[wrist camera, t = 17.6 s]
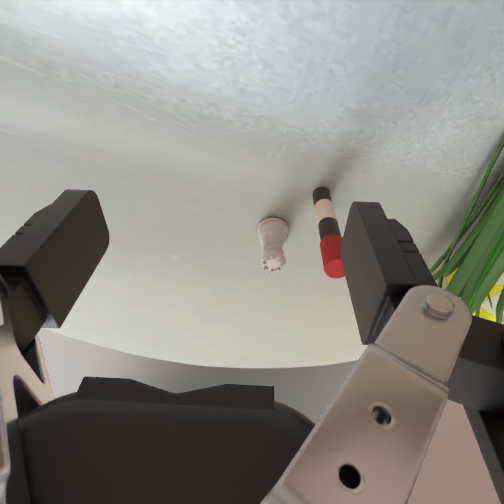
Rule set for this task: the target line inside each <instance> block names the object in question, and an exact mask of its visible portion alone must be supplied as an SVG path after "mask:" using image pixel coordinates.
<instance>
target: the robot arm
mask: <svg viewBox="0 0 504 504" xmlns="http://www.w3.org/2000/svg"><path fill="white" fill-rule="evenodd" d="M413 242H414V241H413V239H412V237H411V235H410V233H409V232H408V230H407V229H406V228H405V227H404V226H403V225H401V224H400V223H399V222H398V221H397V220H395V219H387V217H386V215H385V213H384V211H383V209H382V207H381V205H380V203H378V202H355V201H354V202H353V203H352V205H351V208H350V211H349V215H348V220H347V224H346V228H345V232H344V236H343V240H342V246H341V259H342V264H343V268H344V272H345V276H346V280H347V284H348V288H349V292H350V296H351V300H352V304H353V308H354V312H355V316H356V320H357V325H358V329H359V333H360V337H361V341H362V344H363V345H368V347H367V348H366V350H365V351H364V353H363V354H362V356H361V357H360V359H359V360H358V362H357V363H356V365H355V366H354V368H353V369H352V371H351V372H350V374H349V375H348V377H347V378H346V380H345V381H344V383H343V384H342V386H341V387H340V389H339V390H338V392H337V393H336V395H335V396H334V398H333V399H332V401H331V402H330V404H329V405H328V407H327V408H326V410H325V411H324V413H323V414H322V416H321V417H320V419H319V420H318V422H317V423H316V424H315V423H313V422H312V421H311V420H310V419H308V418H307V417H306V416H305V415H303V414H301V413H300V412H298V411H297V410H295V409H293V408H291V407H289V406H287V405H285V404H283V403H280V402H276V401H274V387H273V386H272V387H271V386H255V385H236V384H225V385H220V386H214V387H210V388H204V389H199V390H194V391H189V392H184V393H171V392H168V391H165V390H162V389H159V388H156V387H153V386H150V385H146V384H143V383H141V382H138V381H135V380H132V379H121V378H102V377H84V378H83V380H82V382H81V384H80V386H79V389H78V391H77V392H75V393H71V394H68V395H65V396H61V397H59V398H56V399H55V397H54V394H53V391H52V388H51V384H50V380H49V375H48V371H47V367H46V363H45V359H44V355H43V351H42V347H41V343H40V340H39V338H38V337H37V335H36V334H37V333H38V331H39V330H40V328H41V327H42V328H60V327H61V325H62V324H63V322H64V320H65V319H66V317H67V315H68V314H69V312H70V310H71V309H72V307H73V305H74V304H75V302H76V300H77V299H78V297H79V295H80V294H81V292H82V290H83V289H84V287H85V285H86V284H87V282H88V280H89V279H90V277H91V275H92V274H93V272H94V270H95V269H96V267H97V265H98V264H99V262H100V260H101V259H102V257H103V255H104V254H105V252H106V250H107V248H108V245H109V231H108V228H107V225H106V221H105V218H104V215H103V212H102V209H101V206H100V202H99V199H98V197H97V195H96V193H95V192H94V191H92V190H70V189H68V190H65V191H64V192H63V193H62V194H61V195H60V196H59V197H58V198H57V199H56V200H55V201H54V202H53V203H52V205H51V204H50V205H49V206H47V207H45V208H43V209H41V210H40V211H38V212H36V213H34V214H33V216H32V217H31V218H30V219H29V220H28V221H27V222H26V223H25V224H24V226H22V227H21V228H20V229H19V230H18V231H17V232H16V235H13V236H12V237H11V238H10V239H9V240H8V241H7V242H6V243H5V244H4V245H3V246H2V247H1V248H0V504H407V502H408V500H409V497H410V494H411V492H412V489H413V486H414V484H415V481H416V479H417V476H418V474H419V471H420V468H421V466H422V463H423V461H424V458H425V456H426V453H427V451H428V448H429V445H430V442H431V440H432V437H433V435H434V432H435V430H436V427H437V425H438V422H439V419H440V417H441V414H442V412H443V409H444V406H445V404H446V401H447V399H448V400H452V401H454V402H457V403H460V404H463V406H464V409H465V411H466V414H467V416H468V419H469V422H470V424H471V427H472V429H473V432H474V435H475V437H476V440H477V443H478V445H479V448H480V450H481V453H482V456H483V458H484V461H485V463H486V466H487V468H488V471H489V473H490V476H491V479H492V482H493V484H494V487H495V489H496V492H497V495H498V497H499V500H500V502H501V504H504V324H501V323H498V322H494V321H491V320H487V319H484V318H480V317H477V316H474V315H471V312H470V310H469V308H468V306H467V305H466V304H465V303H464V302H463V301H462V300H461V299H460V298H459V297H457V296H456V295H454V294H453V293H451V292H449V291H447V290H445V289H442V288H439V287H438V286H437V284H436V282H435V280H434V278H433V277H432V275H431V273H430V271H429V269H428V267H427V265H426V263H425V262H424V260H423V258H422V256H421V254H420V253H419V250H418V248H417V247H416V245H415V244H414V243H413Z"/></svg>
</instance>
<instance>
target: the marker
mask: <svg viewBox="0 0 504 504" xmlns="http://www.w3.org/2000/svg"><path fill="white" fill-rule="evenodd" d="M313 201H314V206H315V213H316V218H317V224H318V228H319V233H320V238H321V243H320V249H321V254H322V260H323V265H324V271H325V273H326V274H327V275H328V276H329V277H332V278H341V277H344V276H345V272H344V268H343V264H342V259H341V246H342V240H343V238H342V237H341V234H340V230H339V227H338V222H337V218H336V214H335V210H334V207H333V203H332V200H331V196H330V193H329V190H328V189H327V188H324V187H319V188H317V189H316V190H314V192H313Z"/></svg>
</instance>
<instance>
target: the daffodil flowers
mask: <svg viewBox="0 0 504 504" xmlns="http://www.w3.org/2000/svg"><path fill="white" fill-rule="evenodd" d="M503 147H504V138H503V140H502V142H501V144H500V145H499V147H498V149H497V151H496V153H495V155H494V157H493V159H492V161H491V163H490V165H489V167H488V169H487V171H486V173H485V176H484V178H483V180H482V182H481V184H480V186H479V189H478V191H477V193H476V195H475V197H474V199H473V202H472V204H471V206H470V208H469V210H468V212H467V214H466V217H465V219H464V221H463V223H462V225H461V227H460V229H459V231H458V234H457V236H456V238H455V240H454V241H453V243H452V244H451V245H450V247H449V248H448V249H447V250H446V252H445V253H444V254H443V255H442V256H441V257H440V259H439V260H438V261H437V262H436V263H435V265H434V266H433V267H432V268H431V269H430V270H429V271H430V273H432V272H433V271H434V270H435V269H436V268H437V267H438V266H439V265H440V264H441V263H442V261H443V260H444V259H445V261H444V263H443V266H442V269H441V270H439V271H438V272H437V273H436V274H435V275H433V276H432V277H433V278H434V280H436V279H438V278H439V282H438V287H439V288H442V280H443V278H444V277H446V276H448V275H449V274H450V276H449V279H448V283H447V286H446V289H445V290H447V291H449V292H451V293H453V294H454V295H456V296H457V297H459V298H460V299H461V300H462V301H463V302H464V303H465V304H466V305H467V306H468V308H469V310H470V312H471V315H474V316H477V317H480V318H484V319H487V320H491V321H494V322H498V323H501V324H504V323H503V322H502V314H503V310H504V285H495V284H496V282H497V281H498V279H499V278H500V276H501V275H502V273H503V272H504V183H503V184H502V186H501V188H500V189H499V191H498V193H497V194H496V196H495V198H494V199H493V201H492V202H491V204H490V206H489V207H488V209H487V210H486V212H485V213H484V215H483V217H482V218H481V220H480V221H479V223H478V224H477V226H476V227H475V228H474V230H473V231H472V233H471V234H470V235H469V237H468V238H467V239H466V241H465V242H464V243H463V244H462V246H461V247H460V248H459V249H458V251H457V252H456V253H455V254H454V255H453V257H452V258H451V259H450V260H449V258H450V256H451V254H452V252H453V250H454V248H455V246H456V245H457V243H458V242H459V241H460V239H461V238H462V237H463V235H464V234H465V233H466V232H467V230H468V229H469V228H470V226H471V225H472V224H473V222H474V221H475V220H476V218H477V217H478V216H479V214H480V213H481V212H482V210H483V209H484V207H485V206H486V204H487V203H488V202H489V200H490V199H491V197H492V196H493V194H494V193H495V191H496V190H497V188H498V187H499V185H500V184H501V182H502V181H503V179H504V170H503V172H502V174H501V175H500V177H499V178H498V180H497V181H496V183H495V184H494V186H493V187H492V189H491V190H490V192H489V193H488V195H487V196H486V198H485V199H484V201H483V202H482V204H481V205H480V207H479V208H478V210H477V211H476V212H475V214H474V215H473V216H472V218H471V219H470V220H469V222H468V223H467V221H468V219H469V217H470V215H471V213H472V211H473V208H474V206H475V204H476V202H477V200H478V198H479V196H480V193H481V191H482V189H483V187H484V185H485V183H486V181H487V178H488V176H489V174H490V172H491V170H492V168H493V166H494V164H495V162H496V160H497V158H498V156H499V154H500V152H501V150H502V149H503ZM466 223H467V224H466ZM465 225H466V226H465ZM448 261H449V262H448ZM501 290H502V292H501V295H500V297H499V300H498V303H497V307H496V317H494V316H493V315H492V314H490V313H489V312H487V311H486V310H484V309H482V308H481V307H480V306H481V304H482V302H483V301H485V300H487V299H489V302H490V305H491V308H492V303H491V297H492V296H494V295H496V294H497V293H498V292H500V291H501Z"/></svg>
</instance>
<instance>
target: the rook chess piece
mask: <svg viewBox="0 0 504 504" xmlns="http://www.w3.org/2000/svg"><path fill="white" fill-rule="evenodd" d="M257 233H258V238H259V241H260V242H261V243H262V244H263V247H264V250H263V251H262V257H261V259H260V263H261V265H262V266H263V267H264V270H265V271H266V272H267V271H268V270H269V271H270V273H273V274H274V271H276V272H277V273H278V272H280V269H281V268H282V269H283V266H284V265H285V263H286V259H285V257H284V255H283V254H284V252H283V249H282V245H283V244H284V243H285V241H286V240H287V237H288V226H287V224H286V223H285V222H284V221H283V220H281V219H279V218H268V219H265V220H263V221H262V222H261V223H260V224H259V226H258V229H257Z"/></svg>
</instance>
